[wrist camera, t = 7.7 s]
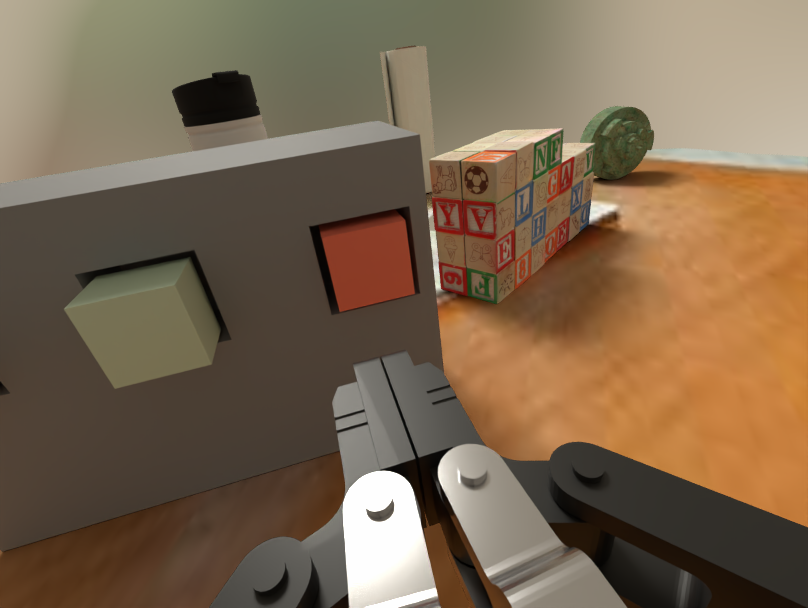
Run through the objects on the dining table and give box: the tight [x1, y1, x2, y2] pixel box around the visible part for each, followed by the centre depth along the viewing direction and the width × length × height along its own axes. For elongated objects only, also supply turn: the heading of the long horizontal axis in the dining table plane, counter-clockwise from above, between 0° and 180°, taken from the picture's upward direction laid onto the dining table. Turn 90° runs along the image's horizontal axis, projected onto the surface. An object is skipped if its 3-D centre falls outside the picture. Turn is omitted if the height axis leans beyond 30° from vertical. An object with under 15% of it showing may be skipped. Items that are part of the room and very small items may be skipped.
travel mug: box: [172, 70, 268, 151], centre depth 37 cm, size 6×7×20 cm
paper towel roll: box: [380, 46, 435, 193], centre depth 65 cm, size 7×6×21 cm
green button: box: [64, 257, 221, 389], centre depth 16 cm, size 4×3×4 cm
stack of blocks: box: [429, 129, 596, 304], centre depth 40 cm, size 21×6×12 cm, turn 139°
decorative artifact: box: [580, 106, 654, 180], centre depth 59 cm, size 10×7×10 cm
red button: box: [318, 209, 415, 312], centre depth 19 cm, size 4×3×4 cm
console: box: [0, 121, 444, 552], centre depth 22 cm, size 24×8×16 cm, turn 105°
